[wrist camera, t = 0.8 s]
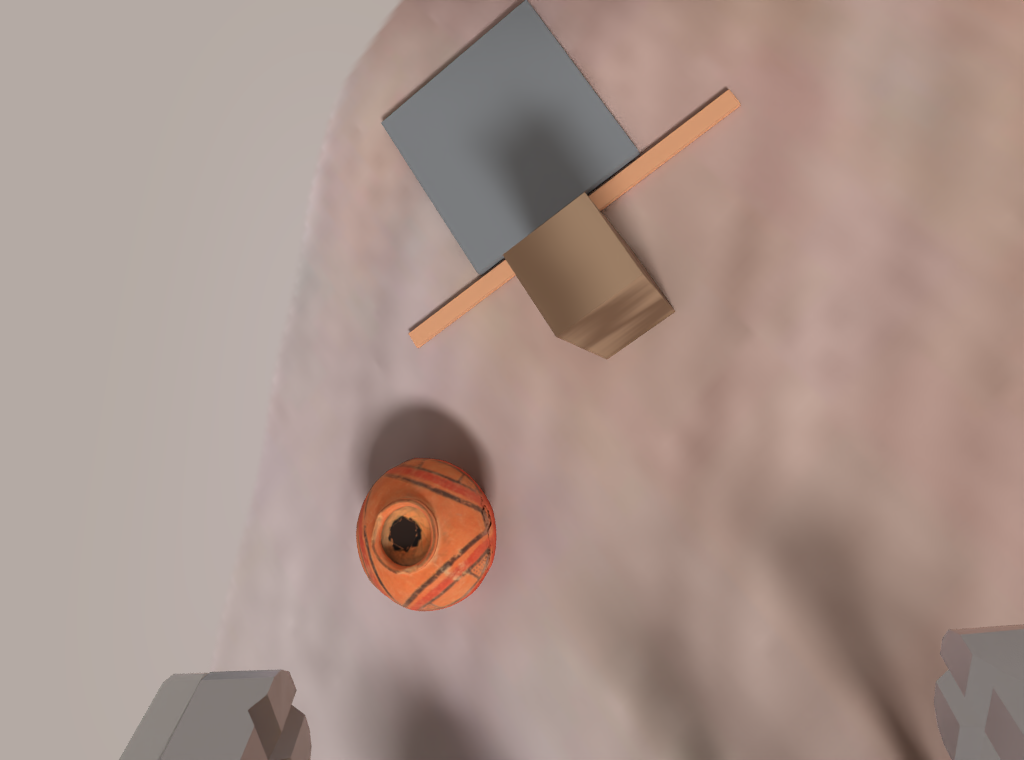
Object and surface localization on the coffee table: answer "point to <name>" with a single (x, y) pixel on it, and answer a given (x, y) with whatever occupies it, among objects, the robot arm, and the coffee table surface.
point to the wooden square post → (587, 280)
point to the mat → (507, 137)
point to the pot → (426, 534)
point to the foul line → (599, 198)
